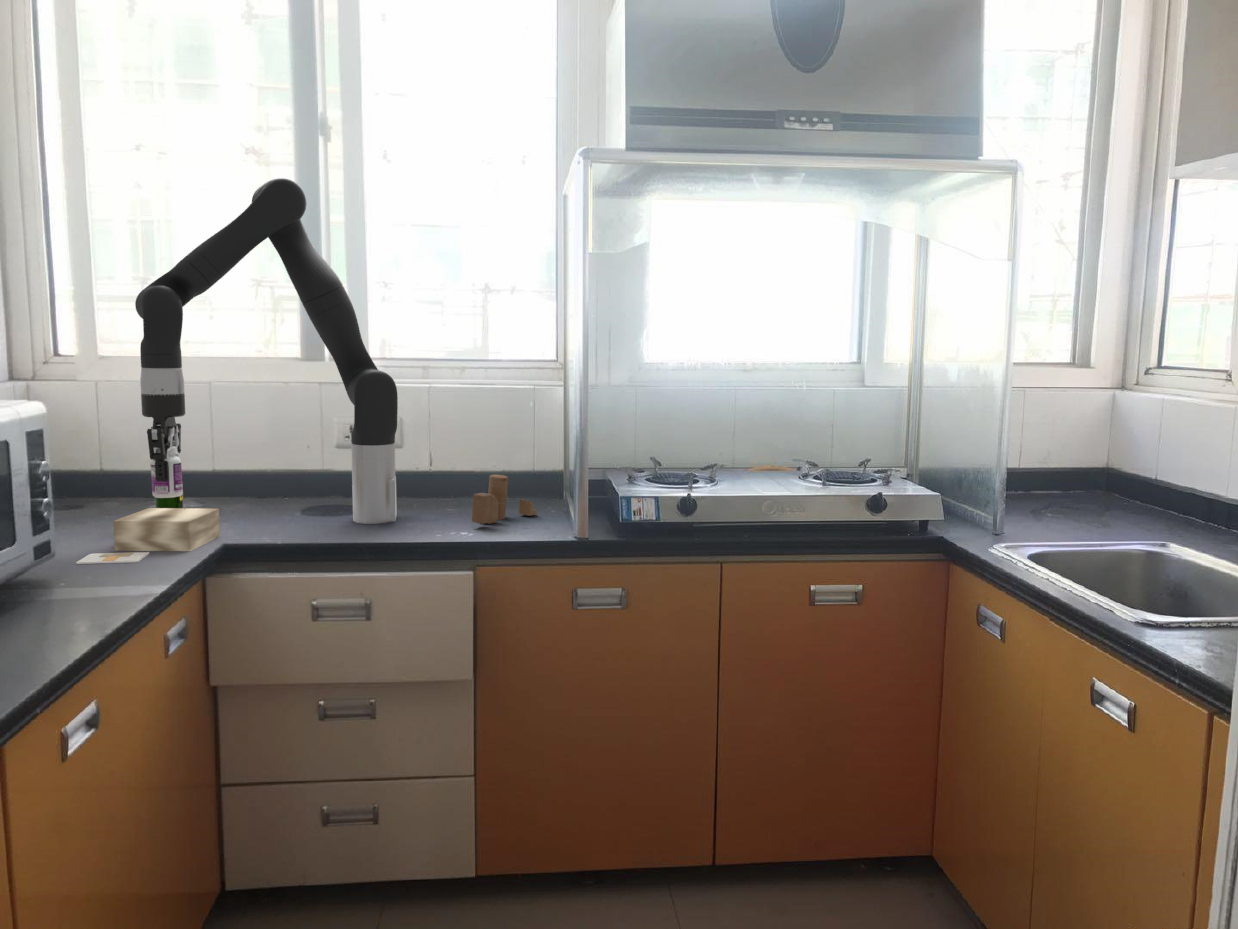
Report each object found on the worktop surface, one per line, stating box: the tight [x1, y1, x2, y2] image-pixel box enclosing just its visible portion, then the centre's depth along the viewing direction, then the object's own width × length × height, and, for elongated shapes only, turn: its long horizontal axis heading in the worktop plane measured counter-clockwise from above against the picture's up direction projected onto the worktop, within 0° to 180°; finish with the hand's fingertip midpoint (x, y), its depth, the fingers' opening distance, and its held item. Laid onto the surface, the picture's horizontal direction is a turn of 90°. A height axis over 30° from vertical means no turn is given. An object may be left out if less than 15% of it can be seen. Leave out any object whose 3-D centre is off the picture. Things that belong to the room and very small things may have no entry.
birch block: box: [112, 507, 221, 552], centre depth 180 cm, size 14×14×6 cm
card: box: [75, 551, 150, 565], centre depth 166 cm, size 10×7×1 cm
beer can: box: [154, 482, 185, 508], centre depth 194 cm, size 5×5×12 cm
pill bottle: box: [150, 446, 184, 498], centre depth 178 cm, size 5×5×10 cm
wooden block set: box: [471, 474, 538, 525], centre depth 204 cm, size 18×9×10 cm, turn 151°
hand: (167, 478), depth 179 cm, fingers closed on pill bottle, 5 cm apart
